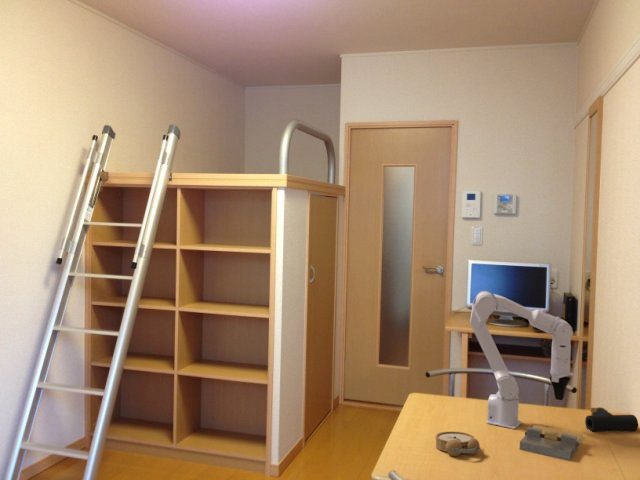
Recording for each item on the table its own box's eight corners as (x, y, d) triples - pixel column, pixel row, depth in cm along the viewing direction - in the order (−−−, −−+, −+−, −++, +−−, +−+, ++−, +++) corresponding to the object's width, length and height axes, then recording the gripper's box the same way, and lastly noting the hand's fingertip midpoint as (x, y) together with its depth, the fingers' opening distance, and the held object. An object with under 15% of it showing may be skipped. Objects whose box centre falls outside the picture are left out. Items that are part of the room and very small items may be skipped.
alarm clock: (463, 430, 188) (487, 438, 174) (464, 446, 187) (488, 457, 173) (429, 432, 185) (450, 441, 171) (429, 449, 185) (451, 460, 170)
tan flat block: (526, 441, 186) (526, 428, 186) (534, 433, 194) (534, 420, 193) (575, 452, 179) (575, 438, 178) (581, 443, 186) (582, 429, 186)
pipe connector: (575, 406, 206) (617, 405, 208) (574, 421, 206) (616, 420, 208) (594, 418, 195) (638, 417, 196) (593, 434, 195) (637, 433, 197)
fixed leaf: (517, 448, 181) (517, 434, 181) (526, 439, 188) (526, 426, 188) (572, 461, 172) (572, 446, 172) (578, 451, 180) (579, 437, 179)
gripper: (568, 364, 190) (567, 407, 190) (578, 355, 202) (577, 396, 202) (545, 360, 194) (543, 403, 194) (556, 352, 206) (554, 392, 206)
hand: (559, 399), depth 199 cm, fingers closed
